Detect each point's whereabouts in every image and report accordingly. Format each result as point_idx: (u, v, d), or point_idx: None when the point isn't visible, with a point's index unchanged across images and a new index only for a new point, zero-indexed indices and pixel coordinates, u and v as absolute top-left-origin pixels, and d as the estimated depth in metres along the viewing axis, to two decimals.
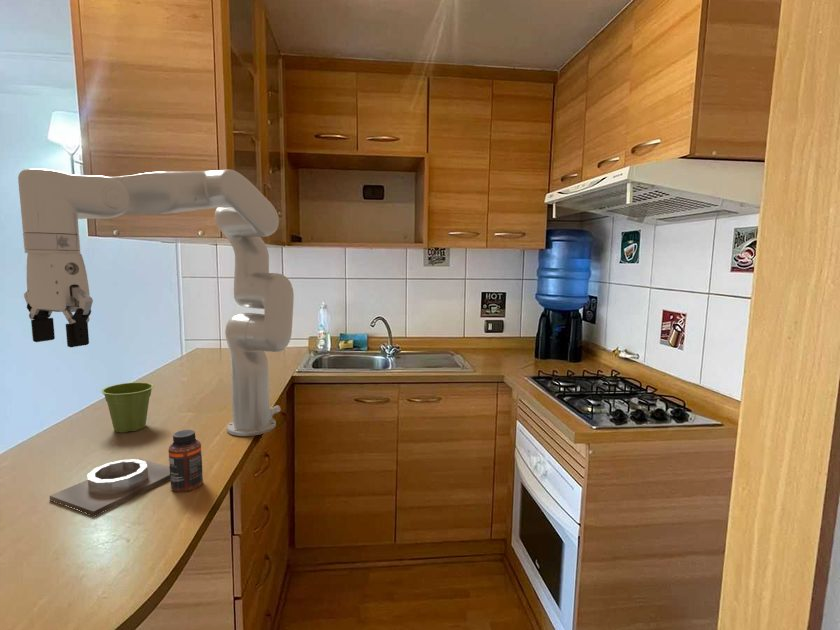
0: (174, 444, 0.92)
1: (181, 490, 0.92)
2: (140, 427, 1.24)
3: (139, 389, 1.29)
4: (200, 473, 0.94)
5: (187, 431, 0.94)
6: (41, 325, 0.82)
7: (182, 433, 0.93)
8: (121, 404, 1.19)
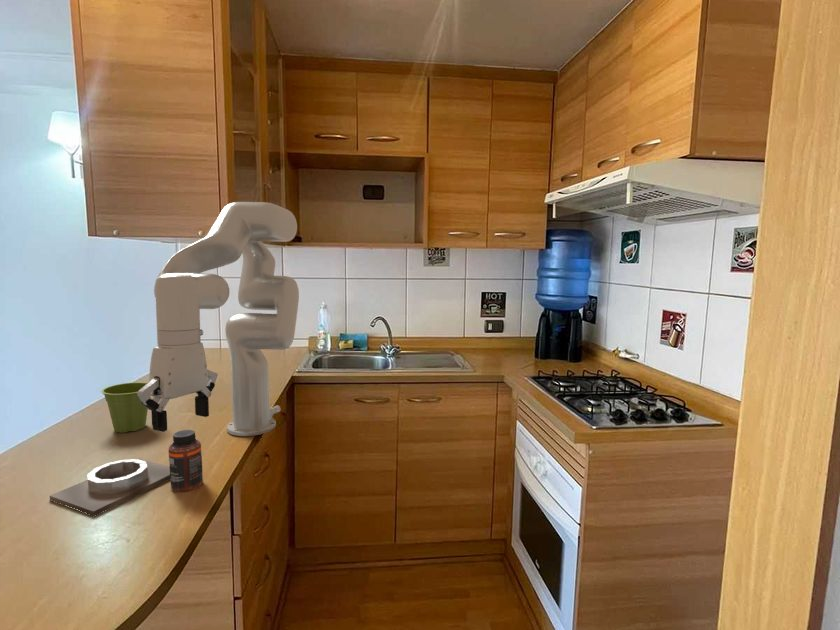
0: (174, 444, 0.92)
1: (181, 490, 0.92)
2: (140, 427, 1.24)
3: (139, 389, 1.29)
4: (200, 473, 0.94)
5: (187, 431, 0.94)
6: None
7: (182, 433, 0.93)
8: (121, 404, 1.19)
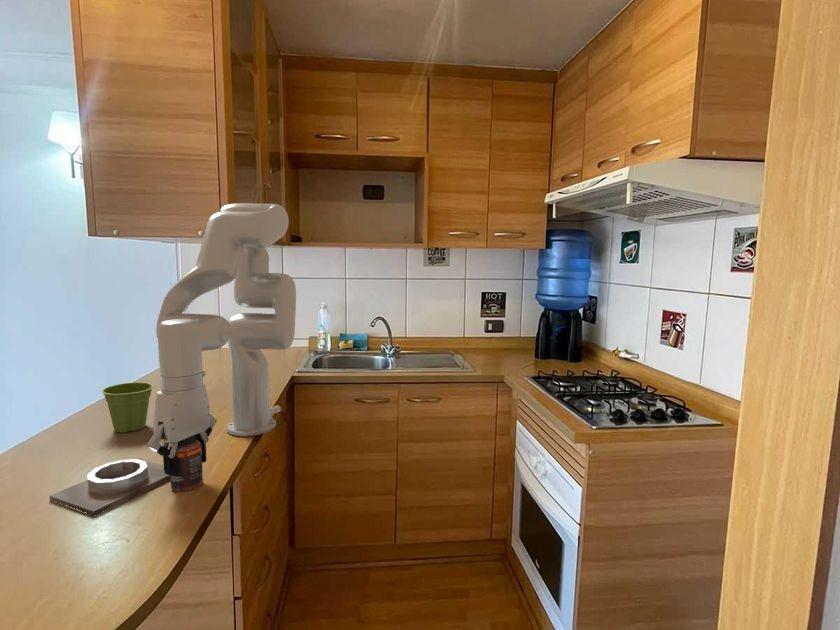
0: None
1: (181, 490, 0.92)
2: (140, 427, 1.24)
3: (139, 389, 1.29)
4: (200, 473, 0.94)
5: None
6: None
7: None
8: (121, 404, 1.19)
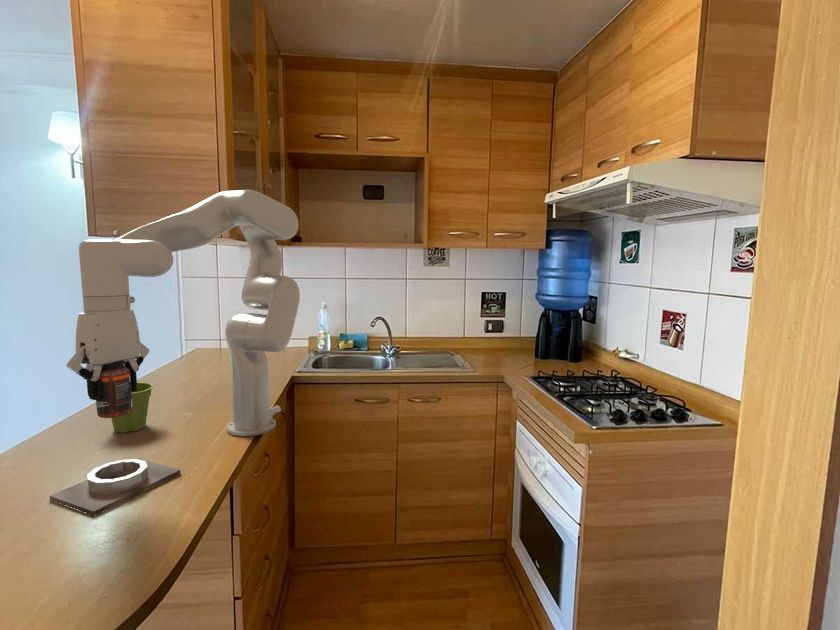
0: None
1: (107, 416, 0.89)
2: (140, 427, 1.24)
3: (139, 389, 1.29)
4: (128, 400, 0.91)
5: None
6: None
7: None
8: None
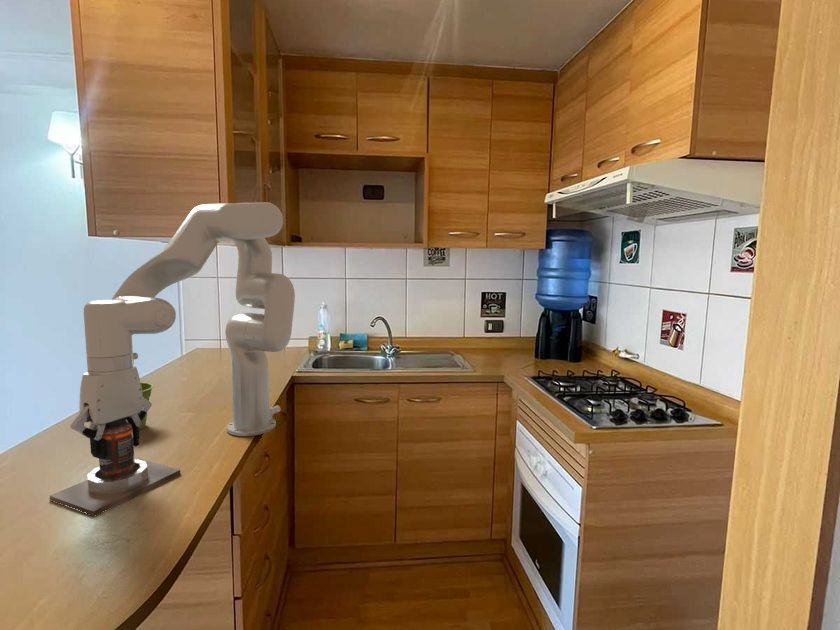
0: None
1: (109, 473, 0.90)
2: (140, 427, 1.24)
3: None
4: (131, 456, 0.93)
5: None
6: None
7: None
8: None
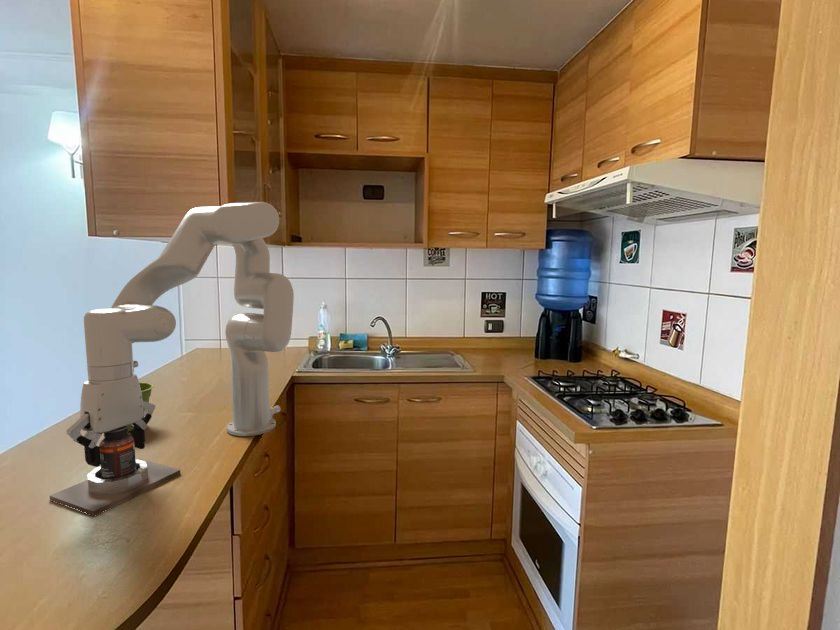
0: (105, 439, 0.91)
1: None
2: None
3: None
4: (132, 469, 0.93)
5: None
6: None
7: None
8: None
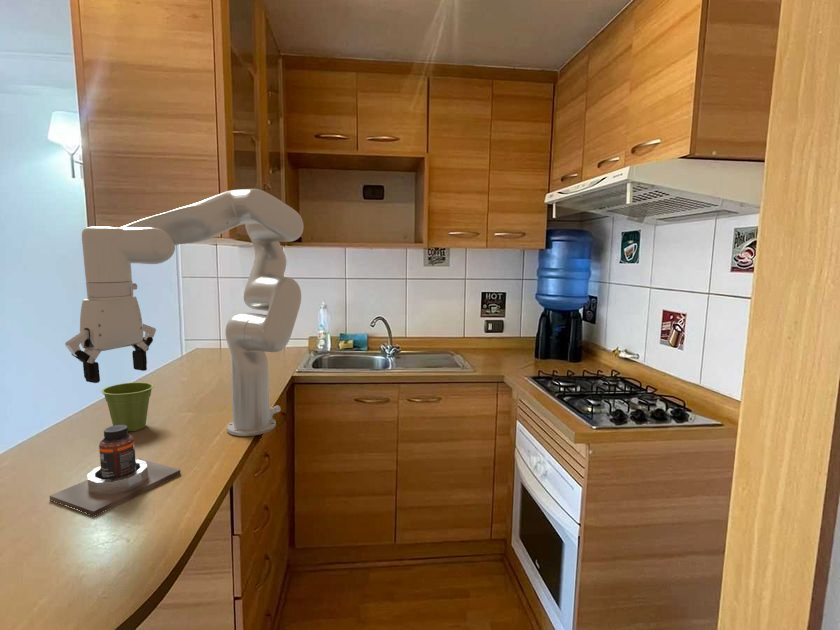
0: (104, 439, 0.91)
1: None
2: (140, 427, 1.24)
3: (139, 389, 1.29)
4: (132, 468, 0.93)
5: (119, 426, 0.93)
6: None
7: (113, 428, 0.92)
8: (121, 404, 1.19)
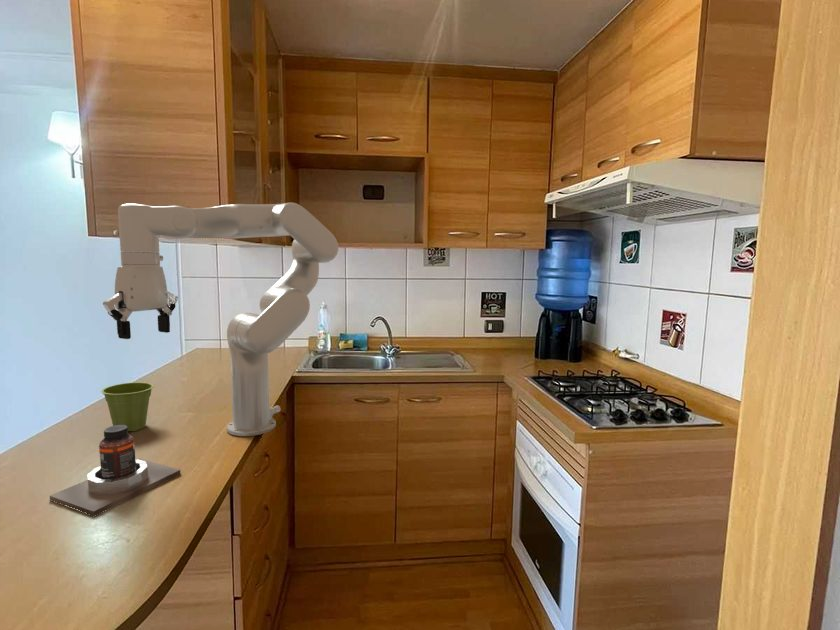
0: (105, 439, 0.91)
1: None
2: (140, 427, 1.24)
3: (139, 389, 1.29)
4: (132, 469, 0.93)
5: (119, 426, 0.93)
6: None
7: (113, 428, 0.92)
8: (121, 404, 1.19)
